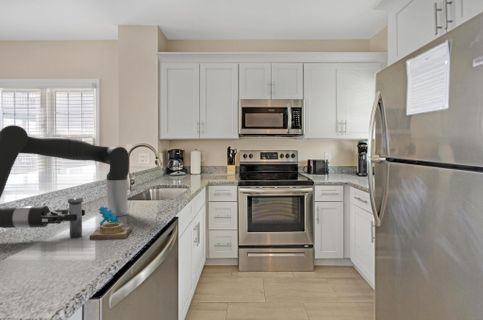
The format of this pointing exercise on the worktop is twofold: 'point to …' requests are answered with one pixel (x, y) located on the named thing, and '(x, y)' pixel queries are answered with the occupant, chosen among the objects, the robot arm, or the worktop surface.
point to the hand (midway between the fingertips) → (81, 214)
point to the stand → (110, 231)
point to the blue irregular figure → (108, 215)
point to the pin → (76, 208)
